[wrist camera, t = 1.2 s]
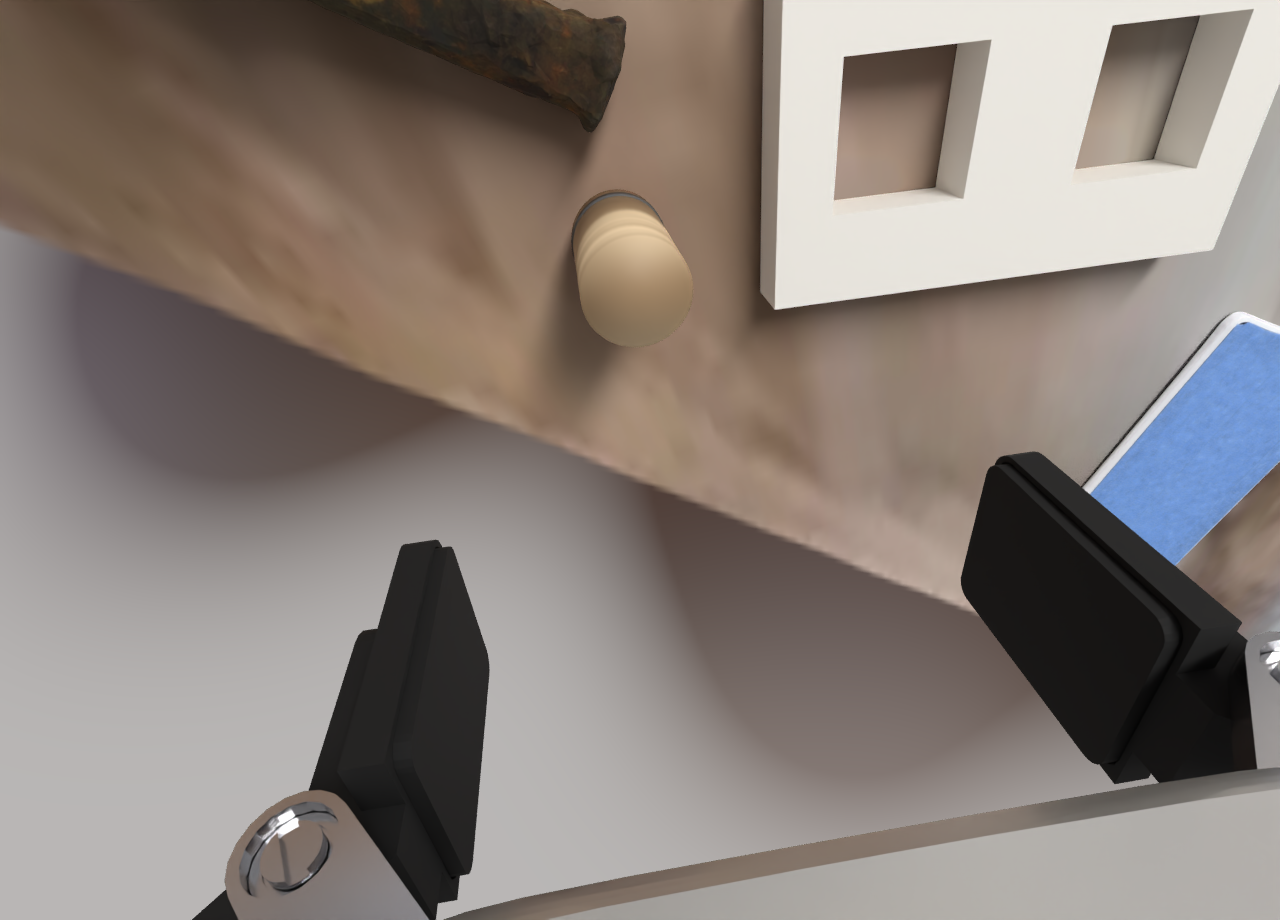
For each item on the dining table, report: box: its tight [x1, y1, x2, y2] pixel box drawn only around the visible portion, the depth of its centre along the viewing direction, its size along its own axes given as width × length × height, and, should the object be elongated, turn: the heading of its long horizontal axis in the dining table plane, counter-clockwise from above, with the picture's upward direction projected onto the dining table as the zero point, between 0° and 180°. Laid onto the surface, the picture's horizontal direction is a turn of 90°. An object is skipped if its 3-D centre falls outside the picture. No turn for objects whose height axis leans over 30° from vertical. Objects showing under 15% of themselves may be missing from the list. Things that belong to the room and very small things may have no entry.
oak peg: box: [571, 190, 693, 347], centre depth 27 cm, size 4×4×9 cm
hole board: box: [760, 0, 1280, 310], centre depth 29 cm, size 14×22×2 cm, turn 95°
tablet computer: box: [1082, 312, 1280, 566], centre depth 43 cm, size 19×13×1 cm, turn 161°
